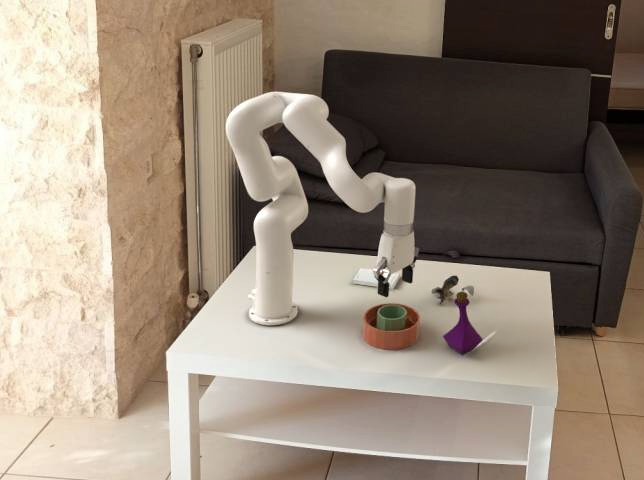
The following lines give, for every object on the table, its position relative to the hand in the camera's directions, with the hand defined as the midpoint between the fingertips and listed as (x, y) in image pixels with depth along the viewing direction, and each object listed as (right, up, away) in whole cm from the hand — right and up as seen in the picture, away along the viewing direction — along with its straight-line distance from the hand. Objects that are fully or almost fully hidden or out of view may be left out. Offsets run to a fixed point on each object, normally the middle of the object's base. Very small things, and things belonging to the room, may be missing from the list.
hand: (395, 288), depth 189 cm
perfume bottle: (+17, -16, 0) cm, 24 cm away
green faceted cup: (-2, -13, +3) cm, 13 cm away
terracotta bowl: (-2, -13, +3) cm, 14 cm away
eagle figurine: (+11, -10, +25) cm, 29 cm away
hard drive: (-10, -6, +32) cm, 34 cm away
